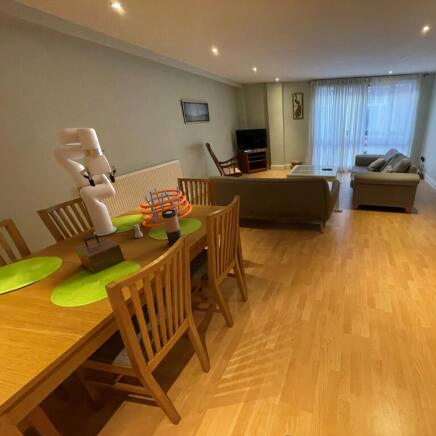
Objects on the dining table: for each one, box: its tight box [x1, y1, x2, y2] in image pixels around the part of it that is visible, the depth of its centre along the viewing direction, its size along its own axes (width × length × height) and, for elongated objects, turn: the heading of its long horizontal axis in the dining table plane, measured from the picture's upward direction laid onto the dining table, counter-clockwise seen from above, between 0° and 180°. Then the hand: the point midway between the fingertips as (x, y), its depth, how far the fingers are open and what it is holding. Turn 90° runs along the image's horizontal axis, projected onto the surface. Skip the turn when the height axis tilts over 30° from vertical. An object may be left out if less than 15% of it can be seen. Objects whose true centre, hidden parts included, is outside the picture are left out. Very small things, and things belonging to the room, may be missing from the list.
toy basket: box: [139, 185, 193, 228], centre depth 173 cm, size 34×35×24 cm
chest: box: [75, 245, 125, 274], centre depth 124 cm, size 15×14×9 cm
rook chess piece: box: [133, 223, 144, 239], centre depth 152 cm, size 4×4×8 cm
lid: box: [74, 234, 121, 258], centre depth 121 cm, size 15×14×5 cm
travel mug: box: [161, 209, 182, 246], centre depth 141 cm, size 8×8×20 cm
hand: (103, 184), depth 133 cm, fingers open, 9 cm apart
